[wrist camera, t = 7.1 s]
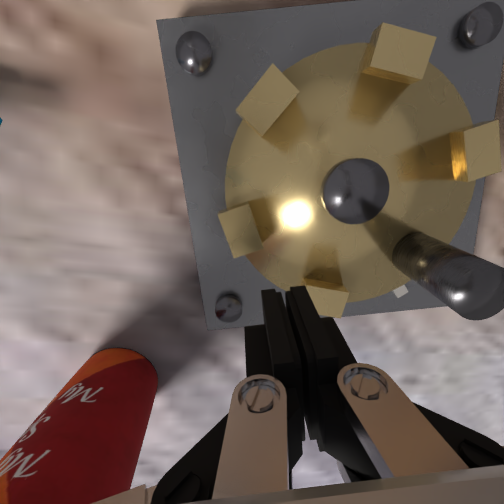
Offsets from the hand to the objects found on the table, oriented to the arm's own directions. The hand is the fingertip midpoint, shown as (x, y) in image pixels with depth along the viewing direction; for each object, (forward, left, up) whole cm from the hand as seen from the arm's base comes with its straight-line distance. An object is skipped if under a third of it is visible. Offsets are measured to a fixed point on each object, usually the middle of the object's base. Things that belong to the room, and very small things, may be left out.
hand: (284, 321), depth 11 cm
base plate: (-4, +4, -10) cm, 12 cm away
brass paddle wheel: (-4, +4, -8) cm, 10 cm away
